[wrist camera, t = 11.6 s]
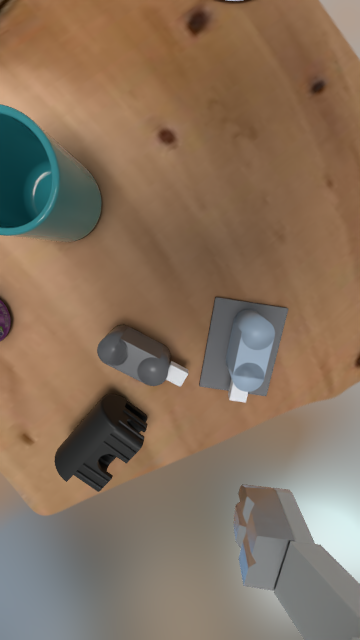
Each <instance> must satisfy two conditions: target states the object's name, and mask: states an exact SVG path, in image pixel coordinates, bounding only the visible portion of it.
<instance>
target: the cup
mask: <svg viewBox="0 0 360 640" xmlns="http://www.w3.org/2000/svg"><path fill="white" fill-rule="evenodd" d="M100 213H101V194H100V190H99V187H98V185H97V183H96V181H95V179H94V177H93V176H92V175H91V173H90V172H89V171H88V170H87V169H86V168H85V167H84V166H83V165H82V164H81V163H80V162H79V161H78V160H76V159H75V158H74V157H73V156H72V155H71V154H70V153H69V152H67V151H66V150H65V149H64V148H63V147H62V146H61V145H60V144H59V143H57V142H56V141H55V140H54V139H53V138H52V137H51V136H50V135H48V134H47V133H46V132H45V131H44V130H43V129H42V128H41V127H40V126H38V125H37V124H36V123H35V122H34V121H33V120H31V119H30V118H29V117H28V116H26V115H25V114H23V113H22V112H20V111H18V110H16V109H14V108H11V107H9V106H5V105H1V104H0V235H4V236H13V237H22V238H30V239H39V240H48V241H56V242H73V241H76V240H79V239H81V238H83V237H85V236H86V235H88V234H89V233H90V232H91V231H92V230H93V228H94V227H95V226H96V224H97V222H98V220H99V217H100Z"/></svg>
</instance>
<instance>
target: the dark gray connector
mask: <svg viewBox="0 0 360 640" xmlns="http://www.w3.org/2000/svg"><path fill="white" fill-rule="evenodd" d="M97 352H98V356H99V358H100V359H101V361H102V362H104V363H105V364H107V365H109V366H111V367H113V368H115V369H117V370H119V371H121V372H123V373H125V374H127V375H129V376H131V377H133V378H135V379H137V380H139V381H141V382H143V383H145V384H147V385H150V386H156V385H160V384H162V383H163V382H164V381H165V380H168V381H170V382H172V383H174V384H176V385H178V386H180V387H181V385H182V384H183V382H184V380H185V379H186V377H187V375H188V369H186V368H184V367H182V366H180V365H178V364H176V363H175V362H173V361H171V363H170V351H169V349H168V348H167V347H166V346H165V345H163V344H161V343H159V342H157V341H155V340H153V339H152V338H150V337H148V336H146V335H144V334H142V333H140V332H138V331H136V330H134V329H132V328H130V327H128V326H126V325H119V326H116V327H115V328H113V329H112V330H111V331H110V332H109V334H108V335H107V336H106V337H105V338H104V339H103V340H102V341H101V342H100V343H99V345H98V349H97ZM169 363H170V364H169Z"/></svg>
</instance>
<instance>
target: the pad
mask: <svg viewBox="0 0 360 640" xmlns="http://www.w3.org/2000/svg"><path fill="white" fill-rule="evenodd" d="M246 309H251V310H254V311H256V312H257V313H258V314H260V315H261V316H262V317H264V318H265V319H266V320H268V321H269V322H270V323H271V324H272V325H273V327H274V330H275V337H274V341H273V345H272V349H271V353H270V357H269V361H268V365H267V369H266V373H265V377H264V381H263V383H262V385H261V386H260V387H259V388H258V389H256V390H254V391H251V392H248V394H255V395H261V396H266V395H267V391H268V387H269V383H270V379H271V375H272V371H273V367H274V363H275V360H276V356H277V352H278V348H279V344H280V340H281V336H282V332H283V328H284V324H285V320H286V316H287V312H288V308H284V307H278V306H271V305H265V304H258V303H252V302H245V301H239V300H232V299H226V298H219V297H215V302H214V307H213V313H212V318H211V324H210V329H209V334H208V340H207V345H206V351H205V356H204V362H203V367H202V372H201V378H200V383H199V386H200V387H207V388H214V389H221V390H227V391H229V388H230V383H231V375H230V373H229V370H228V367H227V365H226V356H227V351H228V346H229V341H230V336H231V331H232V327H233V322H234V318H235V316H236V315H237V314H238V313H239V312H241V311H242V310H246Z"/></svg>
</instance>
